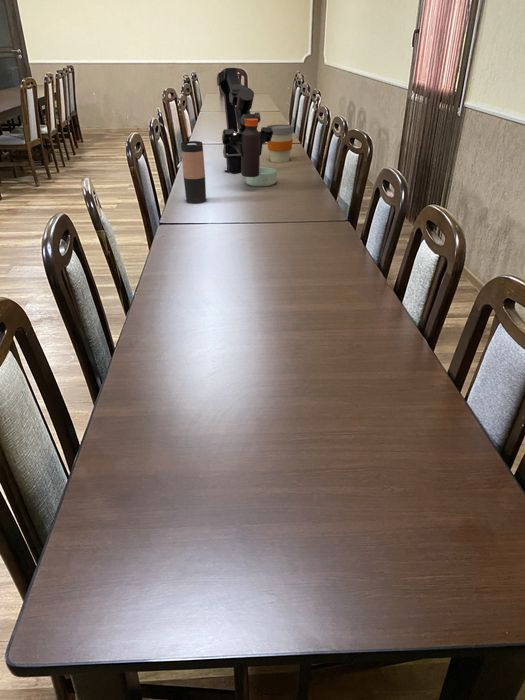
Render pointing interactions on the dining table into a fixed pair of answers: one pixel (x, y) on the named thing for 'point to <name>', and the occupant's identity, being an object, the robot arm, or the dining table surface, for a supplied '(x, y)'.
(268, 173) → the basin
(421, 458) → the dining table surface
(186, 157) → the travel mug
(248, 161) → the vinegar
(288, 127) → the reusable coffee cup
